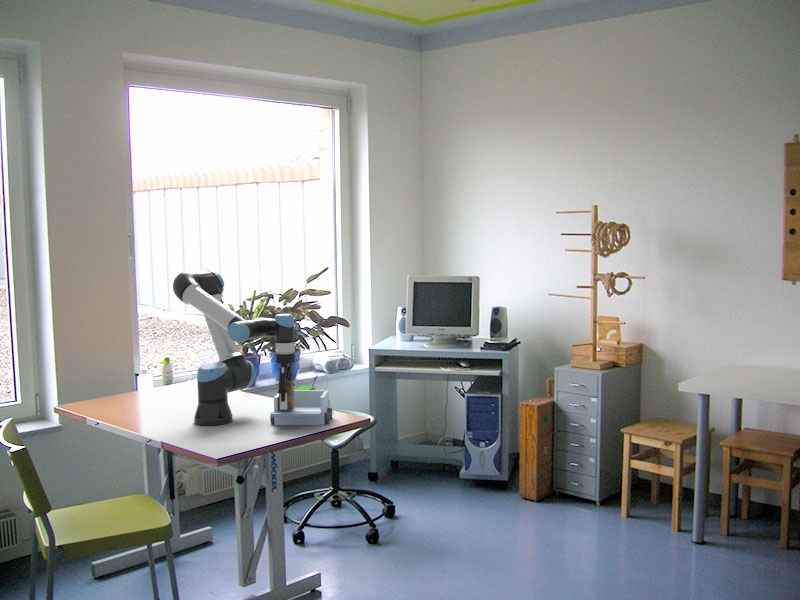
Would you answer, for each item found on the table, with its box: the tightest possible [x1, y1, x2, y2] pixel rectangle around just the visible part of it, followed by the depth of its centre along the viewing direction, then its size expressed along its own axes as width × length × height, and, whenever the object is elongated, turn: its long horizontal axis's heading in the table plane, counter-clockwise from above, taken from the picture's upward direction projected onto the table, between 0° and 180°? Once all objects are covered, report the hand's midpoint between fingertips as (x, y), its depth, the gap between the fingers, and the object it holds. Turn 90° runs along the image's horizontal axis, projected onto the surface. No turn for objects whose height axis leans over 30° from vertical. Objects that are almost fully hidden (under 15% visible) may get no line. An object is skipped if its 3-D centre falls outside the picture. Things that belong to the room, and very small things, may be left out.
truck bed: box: [269, 389, 333, 426], centre depth 312 cm, size 23×15×11 cm, turn 88°
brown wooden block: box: [279, 379, 295, 412], centre depth 308 cm, size 5×5×12 cm
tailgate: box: [270, 411, 323, 418], centre depth 300 cm, size 19×2×8 cm
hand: (286, 405), depth 308 cm, fingers open, 12 cm apart
